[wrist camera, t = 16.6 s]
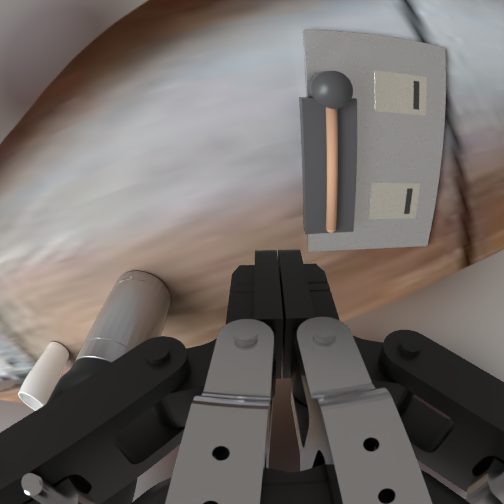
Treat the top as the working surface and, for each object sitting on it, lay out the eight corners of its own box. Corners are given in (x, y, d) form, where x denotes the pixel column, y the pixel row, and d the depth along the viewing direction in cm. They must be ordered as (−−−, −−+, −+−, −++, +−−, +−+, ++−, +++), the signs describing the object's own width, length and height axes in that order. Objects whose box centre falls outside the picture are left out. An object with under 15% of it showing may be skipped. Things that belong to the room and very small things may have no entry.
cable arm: (297, 71, 30) (302, 70, 27) (350, 72, 30) (361, 71, 27) (303, 226, 40) (307, 242, 37) (349, 224, 40) (357, 239, 36)
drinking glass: (41, 339, 56) (12, 391, 43) (59, 335, 55) (29, 392, 42) (59, 360, 59) (34, 412, 46) (78, 358, 58) (53, 414, 45)
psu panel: (424, 242, 42) (427, 246, 41) (307, 247, 43) (308, 252, 42) (441, 47, 28) (445, 47, 27) (302, 31, 29) (304, 29, 28)
